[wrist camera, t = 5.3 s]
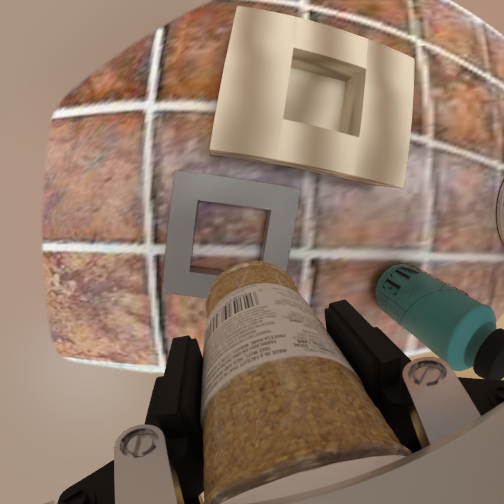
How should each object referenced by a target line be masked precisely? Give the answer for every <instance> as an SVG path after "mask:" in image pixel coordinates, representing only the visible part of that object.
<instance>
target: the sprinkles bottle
mask: <svg viewBox="0 0 504 504" xmlns="http://www.w3.org/2000/svg"><path fill="white" fill-rule="evenodd" d="M206 312H207V317H208V320H207V323H206V328H205V337H204V351H203V367H202V389H201V411H200V420H201V428H202V430H203V443H204V444H203V457H204V498H205V501H204V503H203V504H248V503H254V502H260V501H266V500H271V499H276V498H281V497H285V496H290V495H294V494H298V493H303V492H306V491H310V490H314V489H318V488H321V487H325V486H328V485H332V484H335V483H338V482H341V481H344V480H347V479H350V478H353V477H356V476H359V475H362V474H364V473H367V472H370V471H372V470H375V469H378V468H380V467H383V466H385V465H388V464H390V463H392V462H395V461H397V460H399V459H402V458H404V457H406V456H408V455H411V454H412V452H411V451H410V450H409V449H408V448H406V447H405V446H403V445H401V443H400V442H399V440H398V438H397V437H396V435H395V434H394V432H393V430H392V429H391V428H390V427H389V425H388V424H387V423H386V421H385V419H384V417H383V416H382V414H381V412H380V411H379V409H378V408H377V407H376V406H375V405H374V403H373V401H372V400H371V399H370V398H369V396H368V395H367V393H366V391H365V387H364V385H363V383H362V381H361V379H360V378H359V376H358V375H357V374H356V372H355V371H354V369H353V368H352V366H351V365H350V364H349V362H348V361H347V359H346V358H345V357H344V355H343V354H342V352H341V351H340V349H339V348H338V346H337V345H336V344H335V342H334V341H333V339H332V338H331V336H330V335H329V333H328V332H327V330H326V329H325V328H324V326H323V325H322V323H321V322H320V320H319V319H318V317H317V316H316V315H315V313H314V312H313V310H312V309H311V307H310V306H309V305H308V303H307V302H306V301H305V300H304V299H303V298H302V297H301V296H300V294H299V293H298V290H297V288H296V287H295V285H294V282H293V280H292V279H291V277H290V276H289V275H288V274H287V273H286V272H285V271H284V270H282V269H281V268H280V267H278V266H277V265H275V264H271V263H268V262H264V261H245V262H240V263H237V264H235V265H234V266H231V267H229V268H228V269H226V270H225V271H224V272H222V273H221V274H220V275H219V276H218V277H217V278H216V279H215V281H214V282H213V284H212V285H211V287H210V289H209V292H208V298H207V301H206Z"/></svg>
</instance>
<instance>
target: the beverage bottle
mask: <svg viewBox="0 0 504 504" xmlns="http://www.w3.org/2000/svg"><path fill="white" fill-rule="evenodd" d="M413 267H414V266H412V267H411V266H409V265H408V264H407V265H406V264H398V265H394V266H392V267H390V268H389V269H387V270H386V271H385V272H384V273H383V274H382V276H381V277H380V279H379V281H378V283H377V286H376V300H377V304H378V305H379V307H380V308H381V309H382V310H383V311H384V312H385V313H387V314H388V315H389V316H390V317H392V320H393V319H394V320H395V321H396V322H398V325H399V324H400V325H401V326H403V327H404V328H405V329H406V330H407V331H409V332H410V333H411V335H412V334H413V335H414V336H415V337H416V338H418V339H419V340H420V341H421V342H422V343H423V344H425V345H426V346H427V347H428V348H429V349H430V350H431V351H433V352H434V353H435V354H436V355H437V356H438V357H439V358H441V359H442V360H443V361H445V362H447V363H448V364H449V365H450V367H451V368H452V370H455V371H462V370H465V369H468V368H471V367H473V369H474V371H475V373H476V374H477V375H478V376H480V377H482V378H484V379H487V380H501V379H502V378H503V377H504V330H503V329H496V318H495V314H494V312H493V310H492V309H491V308H490V307H489V306H487V305H485V304H482V303H480V302H478V301H476V300H474V299H472V298H471V297H469V295H468V294H467V293H465V294H464V293H462V292H463V291H462V290H461V291H462V292H460V291H459V290H460V289H459V290H457V289H454V288H455V287H454V288H452V287H451V286H452V285H451V286H449V285H450V284H449V285H447V283H444V282H441V281H442V280H441V281H440V279H435V278H436V277H435V276H434V277H435V278H433V277H431V276H429V275H427V274H425V273H426V272H425V271H424V272H425V273H423V272H421V271H419V270H417V269H415V268H416V267H415V268H413ZM467 295H468V296H467ZM404 328H403V329H404Z"/></svg>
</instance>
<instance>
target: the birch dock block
mask: <svg viewBox="0 0 504 504" xmlns="http://www.w3.org/2000/svg"><path fill="white" fill-rule="evenodd" d="M413 91H414V58H412V57H409V56H407V55H405V54H403V53H401V52H398V51H396V50H394V49H391V48H389V47H387V46H384V45H382V44H379V43H377V42H374V41H372V40H369V39H366V38H364V37H361V36H358V35H355V34H352V33H349V32H346V31H343V30H340V29H337V28H334V27H331V26H327V25H324V24H321V23H317V22H313V21H310V20H306V19H302V18H298V17H294V16H290V15H285V14H281V13H276V12H271V11H266V10H260V9H254V8H248V7H242V6H237V10H236V14H235V19H234V23H233V28H232V32H231V37H230V41H229V46H228V51H227V55H226V60H225V65H224V70H223V75H222V80H221V86H220V91H219V96H218V102H217V107H216V113H215V118H214V124H213V130H212V136H211V142H210V148H209V150H210V155H215V156H222V157H229V158H236V159H243V160H249V161H255V162H262V163H268V164H273V165H279V166H285V167H290V168H296V169H301V170H306V171H311V172H316V173H321V174H326V175H330V176H335V177H340V178H344V179H348V180H353V181H357V182H361V183H366V184H370V185H374V186H384V187H395V188H404V183H405V176H406V169H407V161H408V153H409V144H410V134H411V122H412V109H413Z"/></svg>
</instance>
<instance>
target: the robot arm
mask: <svg viewBox="0 0 504 504" xmlns="http://www.w3.org/2000/svg"><path fill="white" fill-rule="evenodd" d="M497 225H498V230H499V234H500V237H501V240H502V241H503V243H504V182H503V184H502V187H501V189H500V193H499V197H498V203H497ZM325 320H326V329H327V332H328V333H329V335H330V336H331V338H332V339H333V341H334V342H335V344H336V345H337V346H338V348H339V349H340V351H341V352H342V354H343V355H344V357H345V358H346V359H347V361H348V362H349V364H350V365H351V366H352V368H353V369H354V371H355V372H356V374H357V375H358V376H359V378H360V379H361V381H362V383H363V385H364V387H365V391H366V393H367V395H368V396H369V398H370V399H371V400H372V401H373V403H374V405H375V406H376V407H377V408H378V409H379V411H380V412H381V414H382V416H383V417H384V419H385V421H386V423H387V424H388V425H389V427H390V428H391V429H392V430H393V432H394V434H395V435H396V437H397V438H398V440H399V442H400V443H401V445H403V446H405V447H406V448H408V449H409V450H410V451H411V452H412V454H411V455H408V456H406V457H404V458H402V459H399V460H397V461H395V462H392V463H390V464H388V465H385V466H383V467H380V468H378V469H375V470H372V471H370V472H367V473H364V474H362V475H359V476H356V477H353V478H350V479H347V480H344V481H341V482H338V483H335V484H332V485H328V486H325V487H321V488H318V489H314V490H310V491H306V492H303V493H298V494H294V495H290V496H285V497H281V498H276V499H271V500H266V501H260V502H254V503H248V504H504V380H487V379H472V378H461V377H457V376H456V374H455V373H454V371H453V370H452V368H451V367H450V365H449V364H448V363H447V362H445V361H443V360H442V359H439V358H435V357H423V358H418V359H415V360H413V361H411V360H410V359H409V358H408V357H407V356H406V355H405V354H404V353H403V352H402V351H401V350H400V349H399V348H398V347H397V346H396V345H395V344H394V343H393V342H392V341H391V340H390V339H389V338H388V337H387V336H386V335H385V334H384V333H383V332H382V331H381V330H380V329H379V328H378V327H374V328H373V327H372V326H371V325H370V324H369V323H368V322H367V321H366V320H365V319H364V318H363V317H362V316H361V315H360V314H359V313H358V312H357V311H356V310H355V309H354V308H353V307H352V306H351V305H350V304H349V303H348V302H347V301H346V300H341V301H337V302H333V303H330V304H329V308H327V309H325ZM202 367H203V357H202V354H201V351H200V348H199V345H198V342H197V340H196V338H195V339H191V338H190V336H189V335H188V336H183V337H177V338H173V340H172V344H171V348H170V353H169V357H168V361H167V365H166V369H165V373H164V376H163V377H157V379H156V381H155V385H154V389H153V392H152V396H151V401H150V405H149V408H148V413H147V416H146V421H145V424H144V425H137V426H134V427H131V428H129V429H127V430H126V431H124V432H123V433H122V434H121V435H120V436H119V437H118V439H117V440H116V442H115V447H114V460H113V461H111V462H110V463H108V464H106V465H105V466H104V467H102V468H100V469H99V470H97V471H95V472H94V473H92V474H91V475H89V476H87V477H86V478H84V479H82V480H81V481H79V482H77V483H76V484H74V485H73V486H71V487H69V488H68V489H66V490H65V491H64V492H63V493H62V494H61V496H60V498H59V500H58V503H57V504H203V503H204V502H203V499H202V496H201V495H200V494H201V493H202V492H203V491H204V457H203V444H204V443H203V430H202V428H201V420H200V411H201V389H202ZM45 504H56V503H55V502H54V501H51V502H48V503H45Z"/></svg>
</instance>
